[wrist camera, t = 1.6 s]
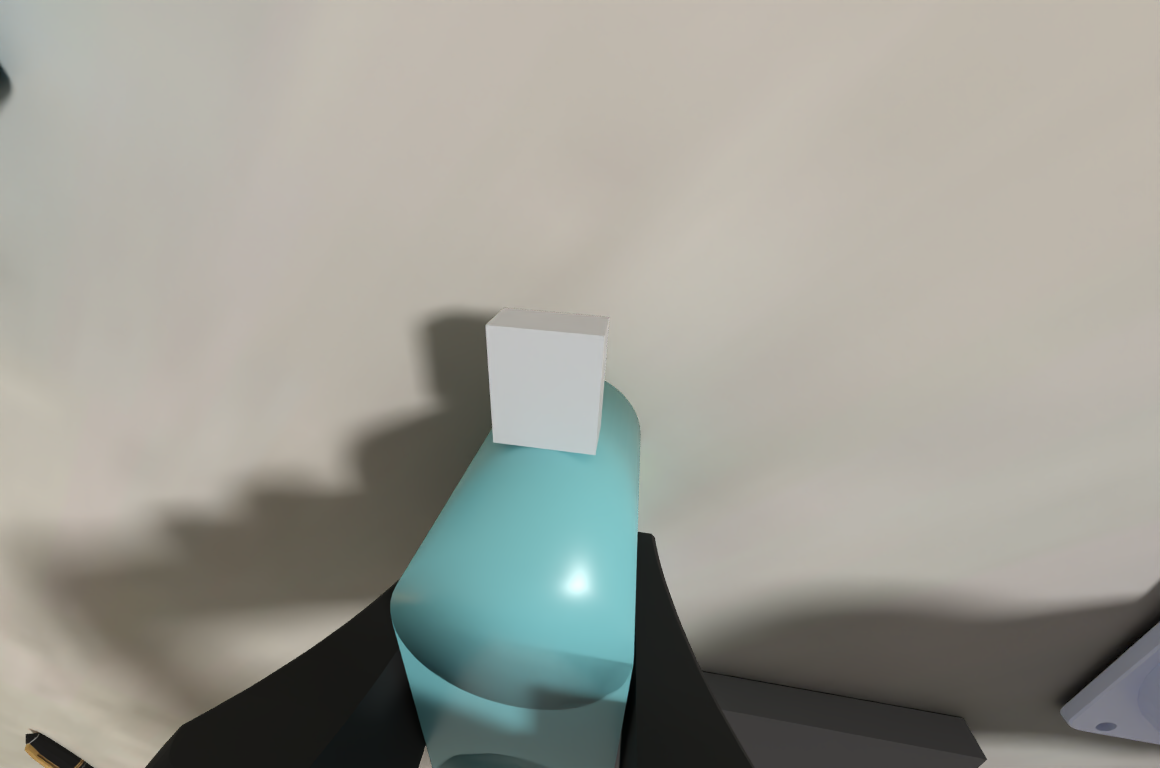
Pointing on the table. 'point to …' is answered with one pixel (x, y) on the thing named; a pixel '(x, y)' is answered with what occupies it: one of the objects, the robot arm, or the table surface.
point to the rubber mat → (837, 730)
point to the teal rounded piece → (531, 563)
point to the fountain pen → (52, 753)
